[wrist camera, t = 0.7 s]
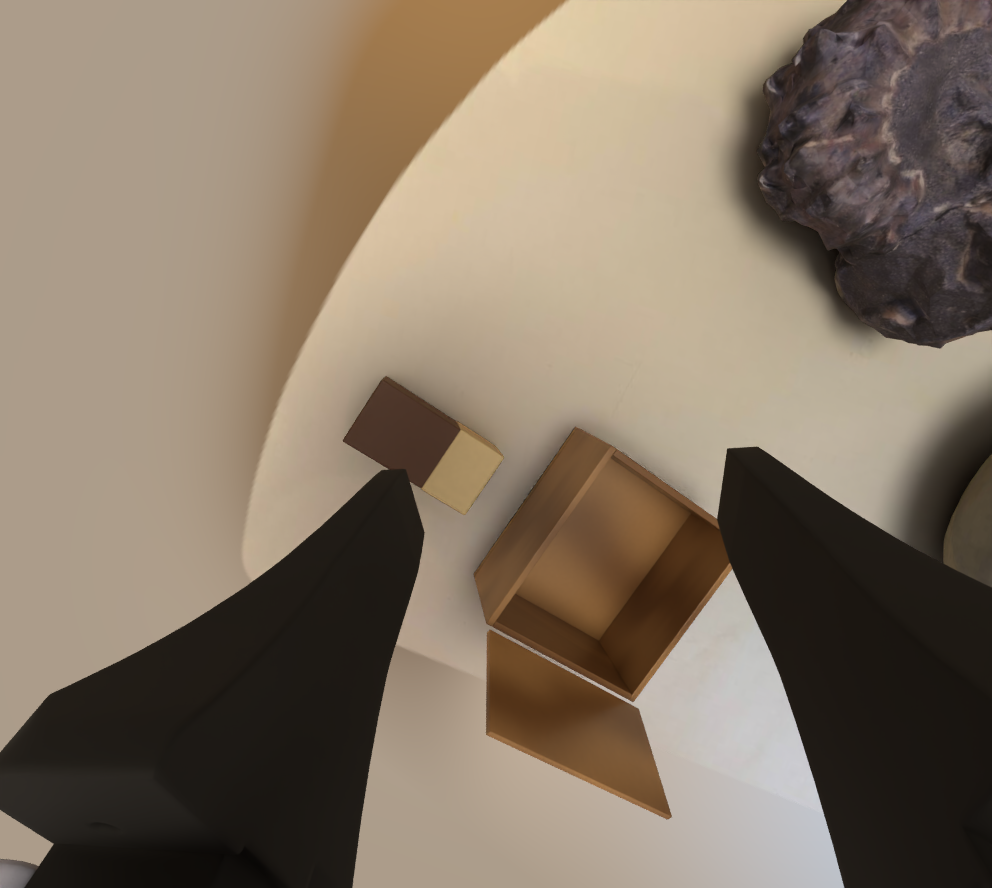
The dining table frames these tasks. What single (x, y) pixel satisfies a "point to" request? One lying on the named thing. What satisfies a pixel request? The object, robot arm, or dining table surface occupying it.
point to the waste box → (602, 566)
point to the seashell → (892, 160)
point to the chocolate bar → (424, 445)
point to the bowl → (972, 529)
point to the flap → (570, 724)
